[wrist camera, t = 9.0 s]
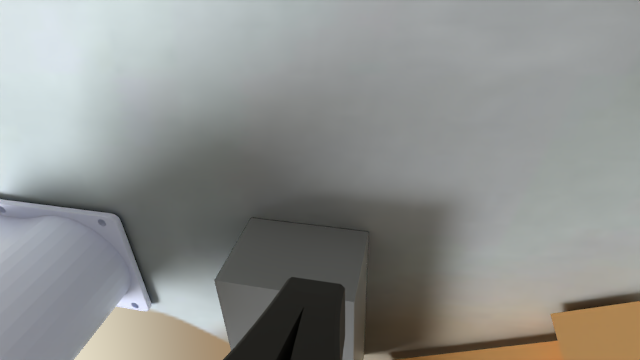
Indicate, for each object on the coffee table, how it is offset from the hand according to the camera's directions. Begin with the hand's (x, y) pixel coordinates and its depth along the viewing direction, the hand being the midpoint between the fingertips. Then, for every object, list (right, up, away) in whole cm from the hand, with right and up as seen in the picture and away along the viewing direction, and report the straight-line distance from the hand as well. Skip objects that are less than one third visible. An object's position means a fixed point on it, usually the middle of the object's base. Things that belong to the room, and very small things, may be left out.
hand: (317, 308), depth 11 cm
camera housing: (0, -3, +14) cm, 14 cm away
